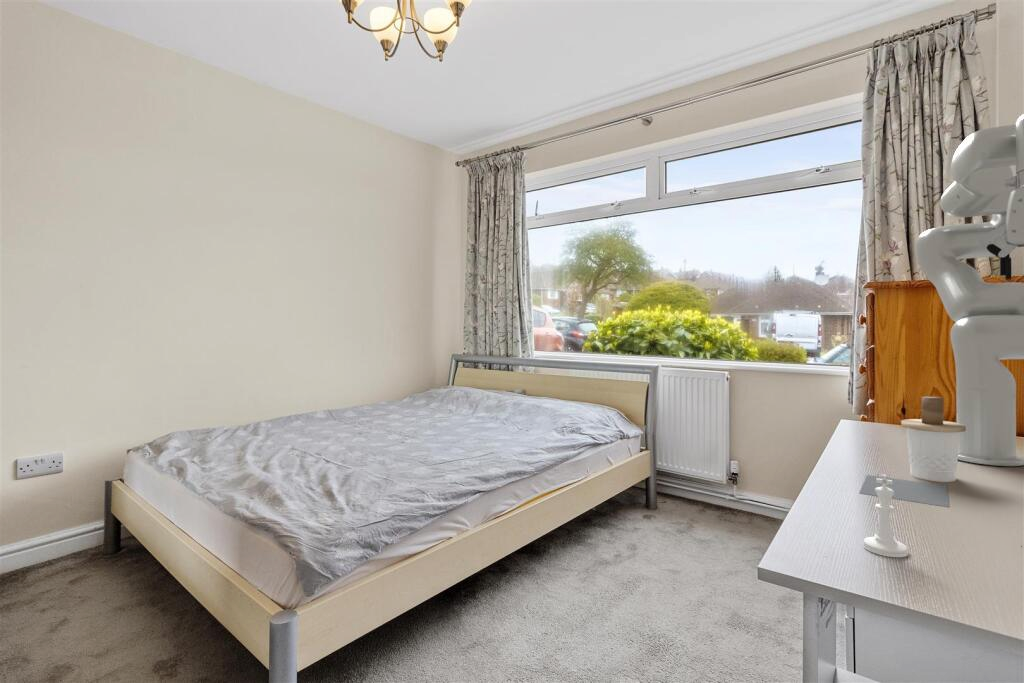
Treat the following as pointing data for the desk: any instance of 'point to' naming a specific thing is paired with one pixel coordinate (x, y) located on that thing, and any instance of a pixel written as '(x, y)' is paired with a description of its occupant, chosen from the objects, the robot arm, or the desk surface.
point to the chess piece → (885, 526)
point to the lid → (933, 418)
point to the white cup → (933, 454)
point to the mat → (909, 491)
